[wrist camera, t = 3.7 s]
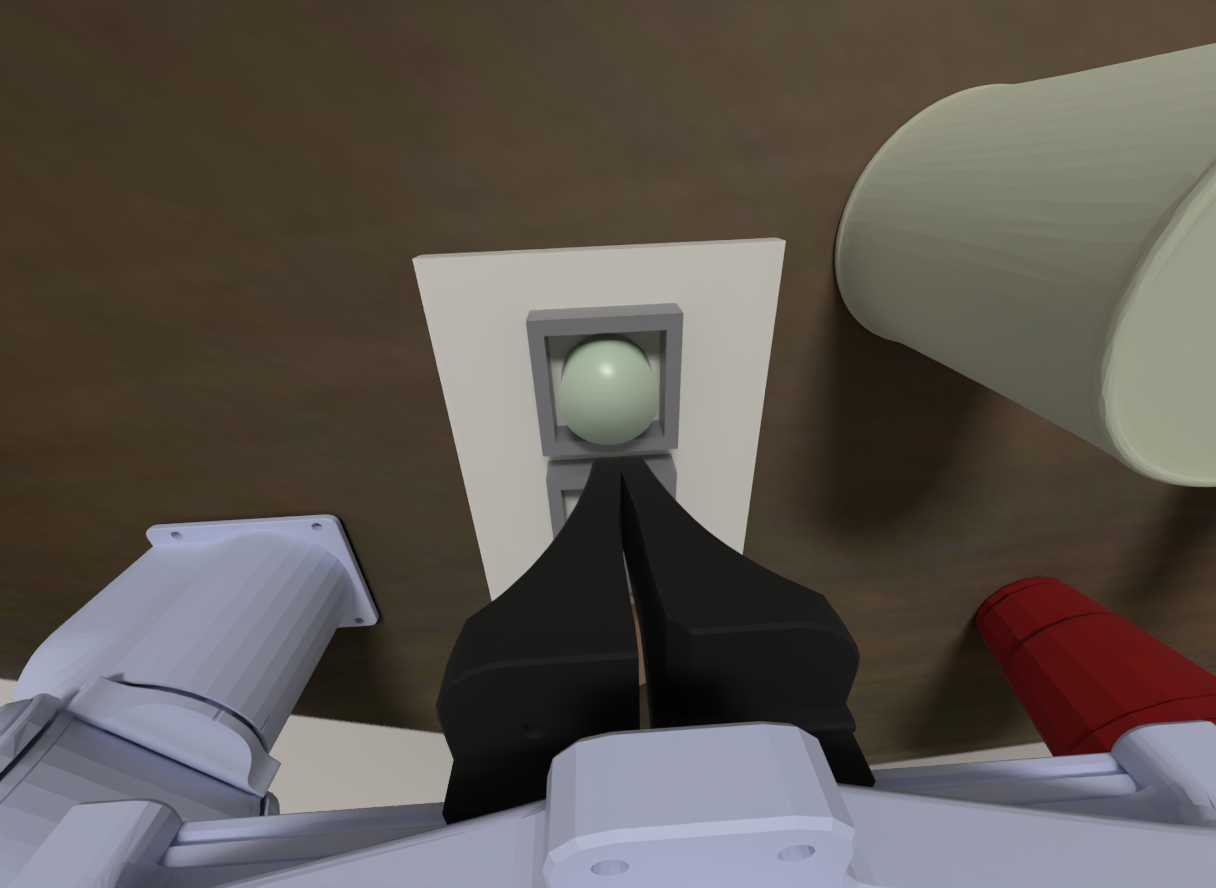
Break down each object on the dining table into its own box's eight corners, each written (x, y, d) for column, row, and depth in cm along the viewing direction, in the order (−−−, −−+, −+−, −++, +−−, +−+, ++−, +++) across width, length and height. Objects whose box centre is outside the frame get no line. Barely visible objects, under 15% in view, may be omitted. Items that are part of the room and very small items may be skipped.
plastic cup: (962, 550, 28) (1193, 777, 17) (1141, 538, 28) (1475, 755, 17) (910, 666, 33) (1062, 891, 23) (1060, 655, 33) (1278, 874, 23)
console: (509, 652, 30) (503, 690, 28) (420, 254, 18) (397, 265, 16) (724, 637, 30) (736, 674, 28) (776, 237, 19) (803, 246, 16)
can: (1079, 271, 20) (1627, 377, 9) (865, 377, 22) (1124, 562, 11) (1066, 22, 16) (2020, -281, 5) (803, 181, 18) (1121, 188, 7)
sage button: (565, 420, 21) (563, 447, 19) (557, 335, 19) (553, 355, 17) (650, 415, 21) (658, 441, 19) (651, 330, 19) (660, 350, 17)
